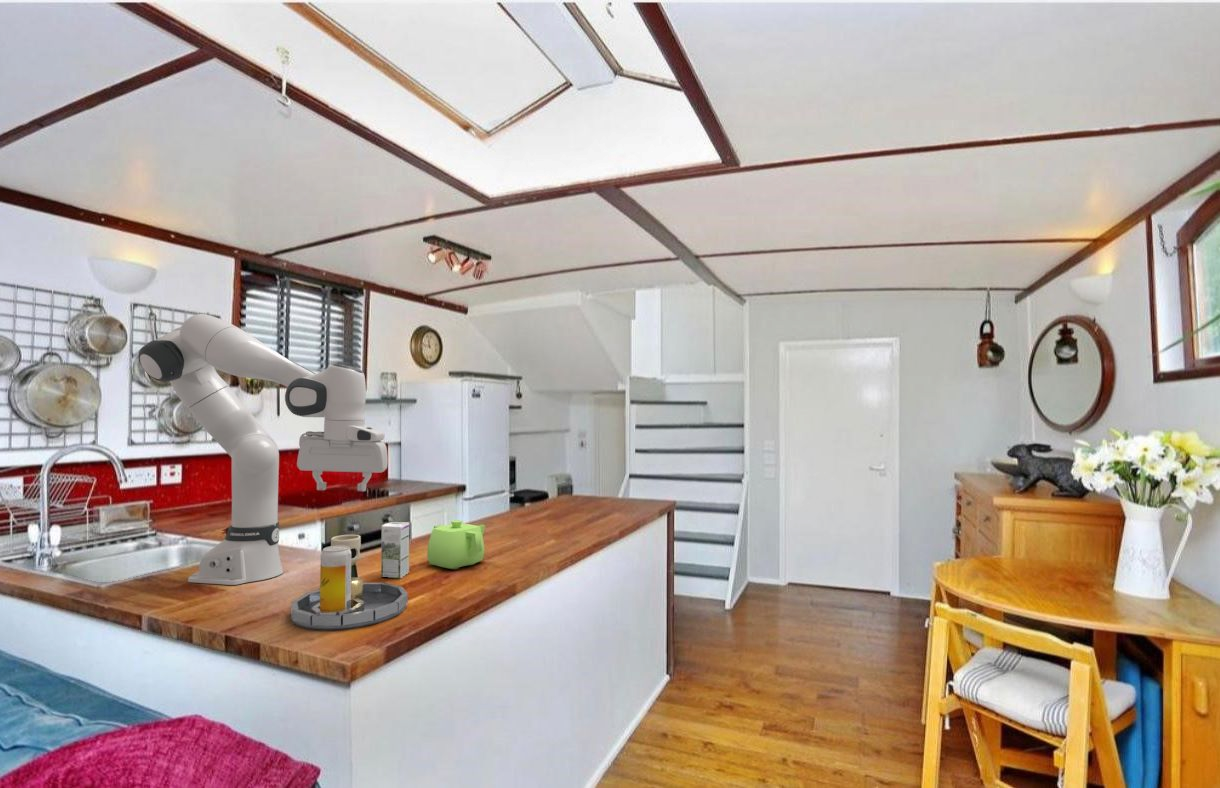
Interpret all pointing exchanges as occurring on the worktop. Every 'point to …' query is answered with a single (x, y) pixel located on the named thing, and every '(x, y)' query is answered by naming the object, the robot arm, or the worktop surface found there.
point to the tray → (366, 607)
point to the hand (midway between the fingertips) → (341, 490)
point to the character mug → (354, 546)
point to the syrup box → (395, 550)
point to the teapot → (456, 545)
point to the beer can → (335, 578)
